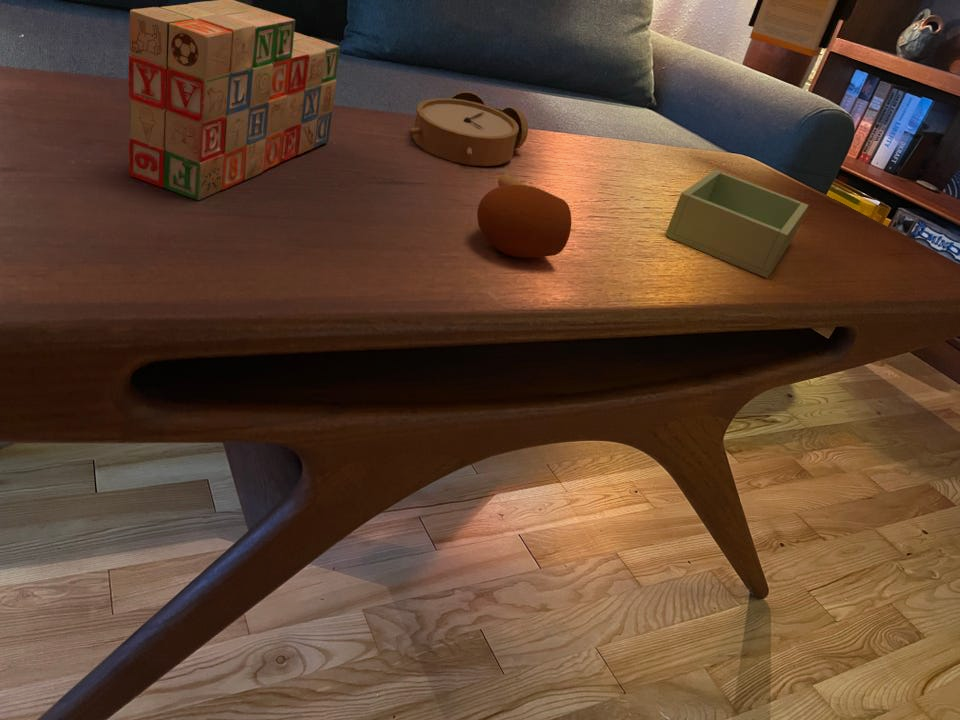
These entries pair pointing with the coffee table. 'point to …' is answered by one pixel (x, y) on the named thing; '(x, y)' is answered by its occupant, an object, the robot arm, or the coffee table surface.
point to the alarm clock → (469, 130)
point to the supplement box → (794, 24)
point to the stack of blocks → (223, 94)
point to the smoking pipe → (524, 219)
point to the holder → (736, 221)
